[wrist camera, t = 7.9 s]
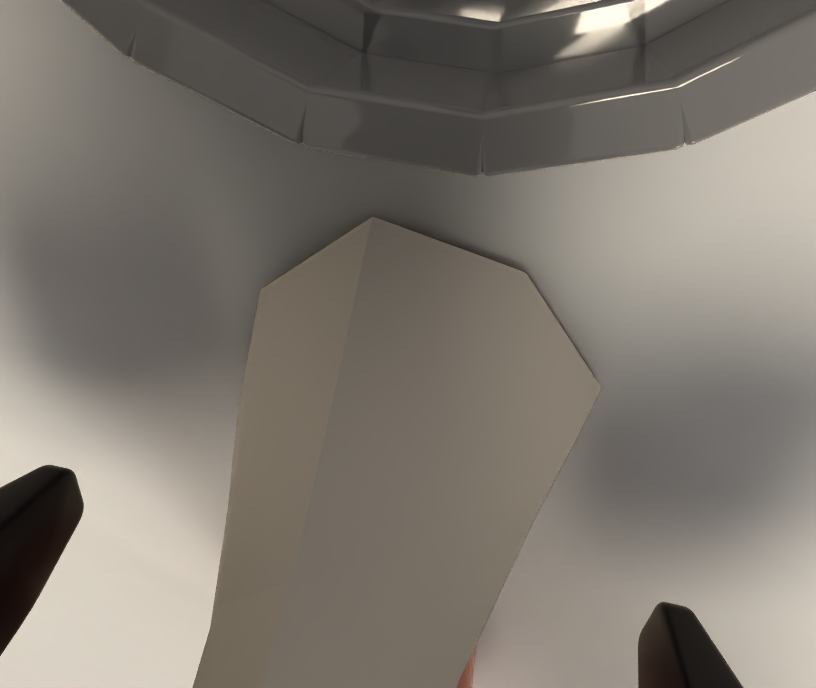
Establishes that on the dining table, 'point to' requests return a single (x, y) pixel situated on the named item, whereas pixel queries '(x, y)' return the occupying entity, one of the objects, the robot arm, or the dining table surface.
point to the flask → (386, 463)
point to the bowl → (476, 72)
